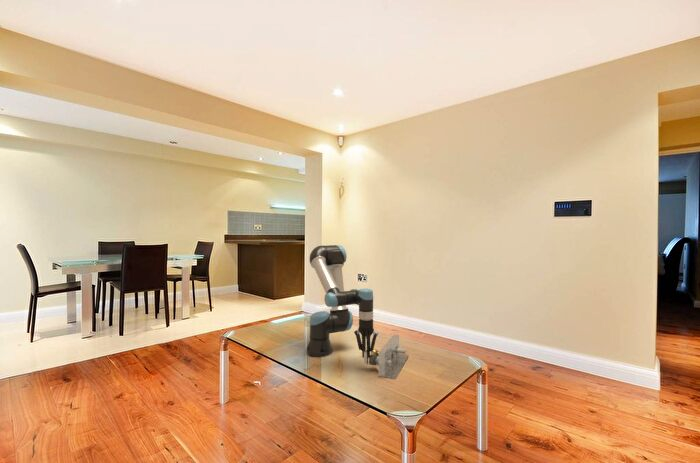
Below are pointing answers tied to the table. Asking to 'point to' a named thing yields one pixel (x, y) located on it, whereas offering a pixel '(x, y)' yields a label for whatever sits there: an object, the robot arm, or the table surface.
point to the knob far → (400, 350)
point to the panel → (391, 358)
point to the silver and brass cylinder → (375, 352)
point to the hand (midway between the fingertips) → (366, 363)
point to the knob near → (377, 360)
